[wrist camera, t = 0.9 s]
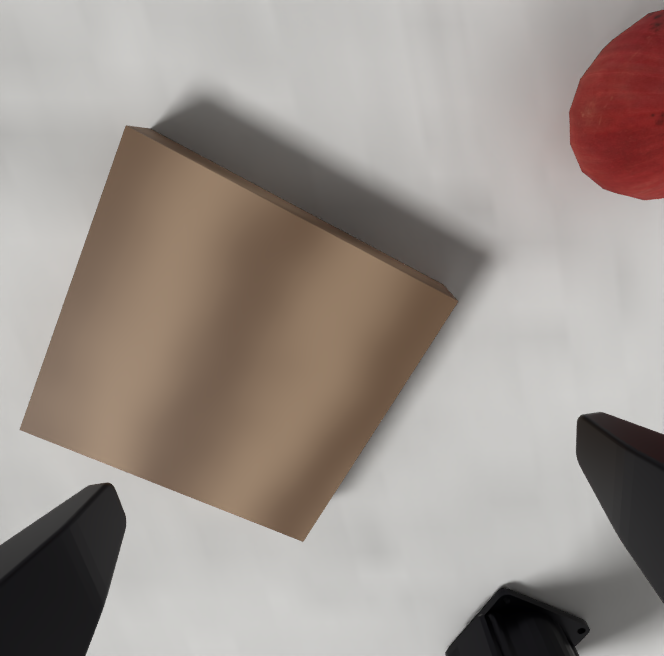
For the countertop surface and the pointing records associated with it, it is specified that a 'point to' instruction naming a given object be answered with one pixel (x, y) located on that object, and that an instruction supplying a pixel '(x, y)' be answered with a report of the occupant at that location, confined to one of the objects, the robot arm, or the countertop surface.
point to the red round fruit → (624, 113)
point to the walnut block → (227, 339)
